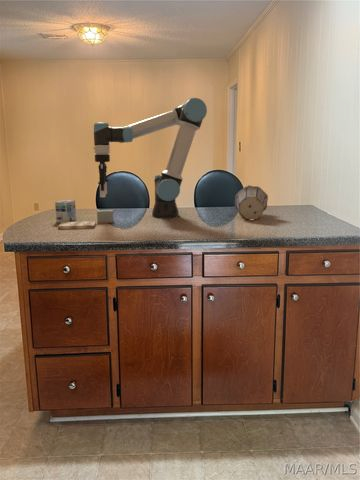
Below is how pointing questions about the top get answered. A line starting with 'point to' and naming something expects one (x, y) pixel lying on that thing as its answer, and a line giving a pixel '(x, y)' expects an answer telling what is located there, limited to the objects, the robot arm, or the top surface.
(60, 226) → the board
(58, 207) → the light bulb box
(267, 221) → the top surface
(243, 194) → the faceted geometric planter
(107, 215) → the block
